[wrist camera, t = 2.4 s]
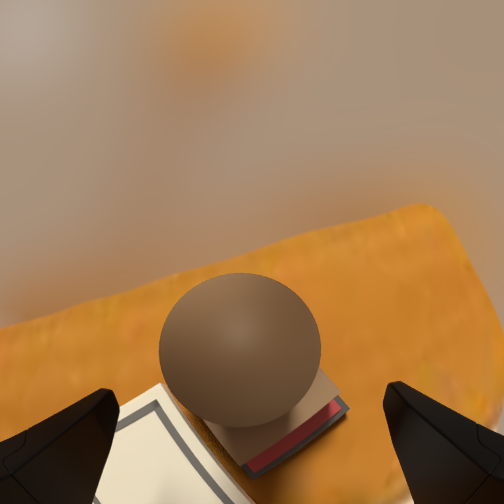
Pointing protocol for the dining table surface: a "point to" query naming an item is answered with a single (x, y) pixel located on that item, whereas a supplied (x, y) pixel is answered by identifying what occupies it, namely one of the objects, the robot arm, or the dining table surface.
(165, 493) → the marked board
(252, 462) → the ink pad
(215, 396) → the stamp
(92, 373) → the dining table surface
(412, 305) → the dining table surface
